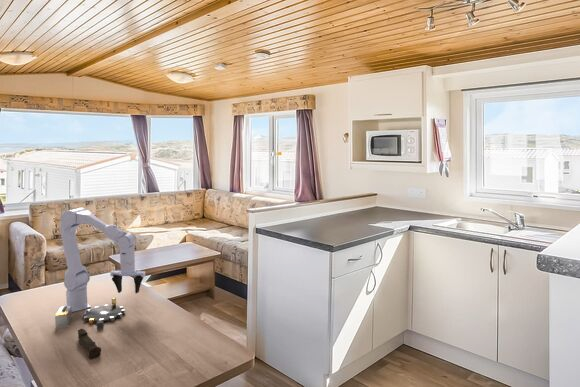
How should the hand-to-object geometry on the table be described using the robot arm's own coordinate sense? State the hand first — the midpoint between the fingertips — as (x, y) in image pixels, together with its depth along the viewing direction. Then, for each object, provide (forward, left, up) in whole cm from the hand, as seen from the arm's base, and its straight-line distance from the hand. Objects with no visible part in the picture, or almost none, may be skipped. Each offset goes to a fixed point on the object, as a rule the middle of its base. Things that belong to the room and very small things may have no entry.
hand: (128, 292), depth 176 cm
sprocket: (-3, -10, -8) cm, 13 cm away
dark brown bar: (+20, -26, -9) cm, 34 cm away
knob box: (-8, -24, -9) cm, 26 cm away
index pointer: (+7, -16, -8) cm, 19 cm away
